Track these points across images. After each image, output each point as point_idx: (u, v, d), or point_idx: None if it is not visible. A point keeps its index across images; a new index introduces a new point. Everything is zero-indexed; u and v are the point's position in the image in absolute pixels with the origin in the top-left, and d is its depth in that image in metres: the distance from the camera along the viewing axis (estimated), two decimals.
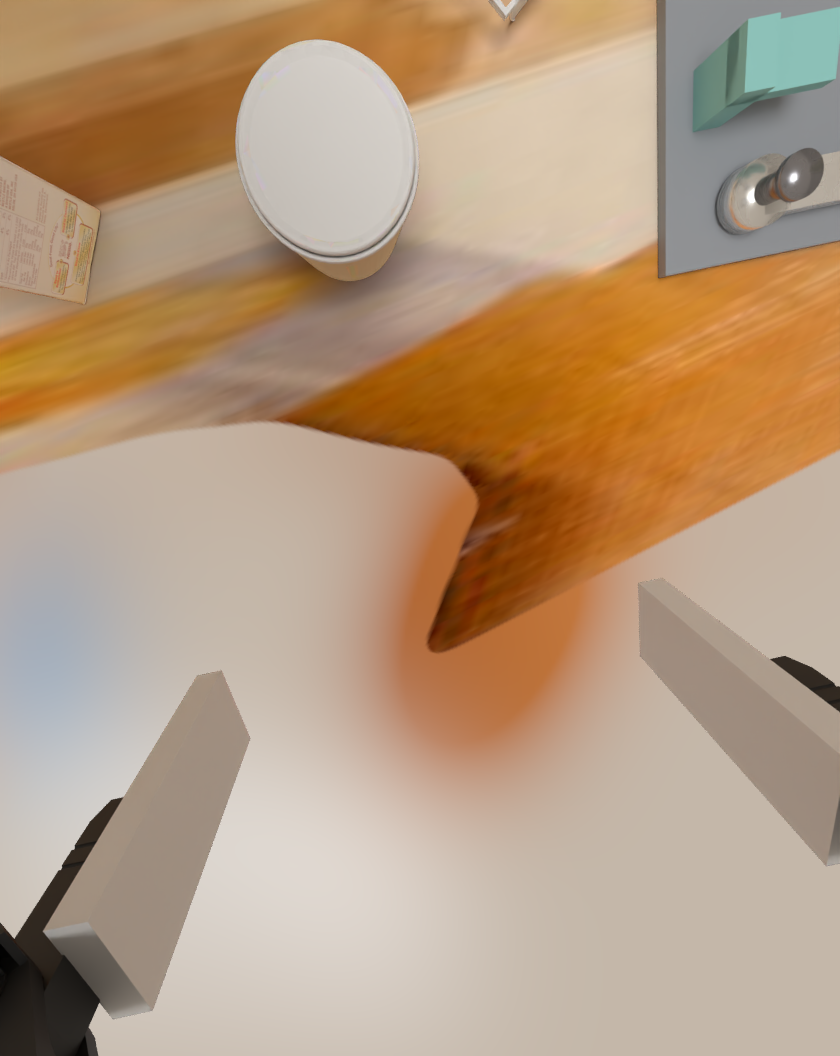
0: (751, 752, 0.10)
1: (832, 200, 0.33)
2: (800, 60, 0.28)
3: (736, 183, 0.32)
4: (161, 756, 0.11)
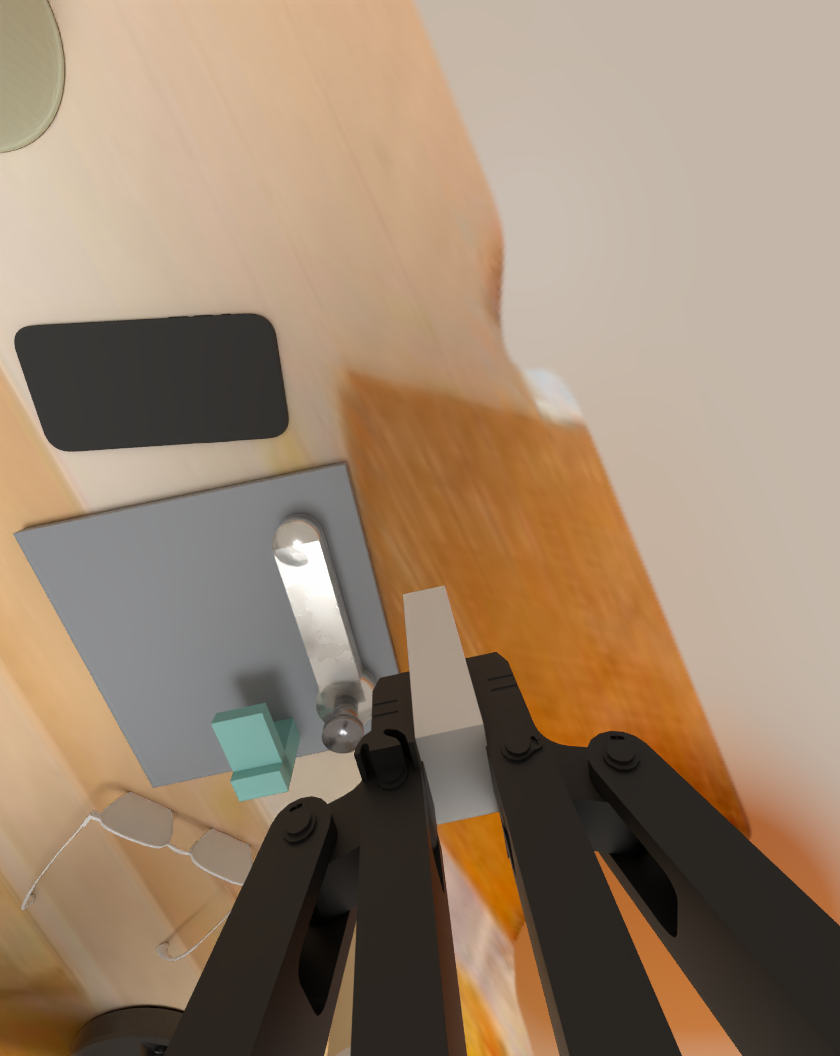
0: None
1: (348, 643, 0.31)
2: (254, 744, 0.31)
3: None
4: (419, 642, 0.13)
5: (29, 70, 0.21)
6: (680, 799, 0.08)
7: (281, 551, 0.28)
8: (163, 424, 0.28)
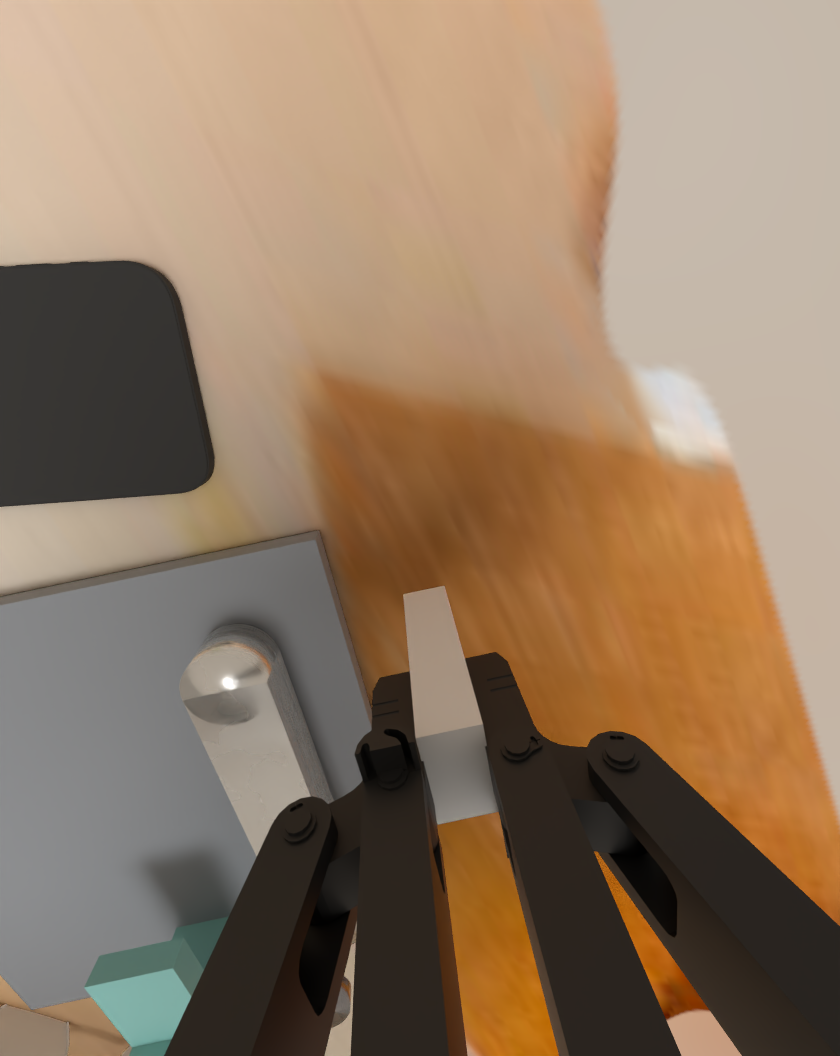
0: None
1: None
2: (164, 1010, 0.18)
3: None
4: (420, 642, 0.13)
5: None
6: (680, 799, 0.08)
7: (199, 701, 0.16)
8: None
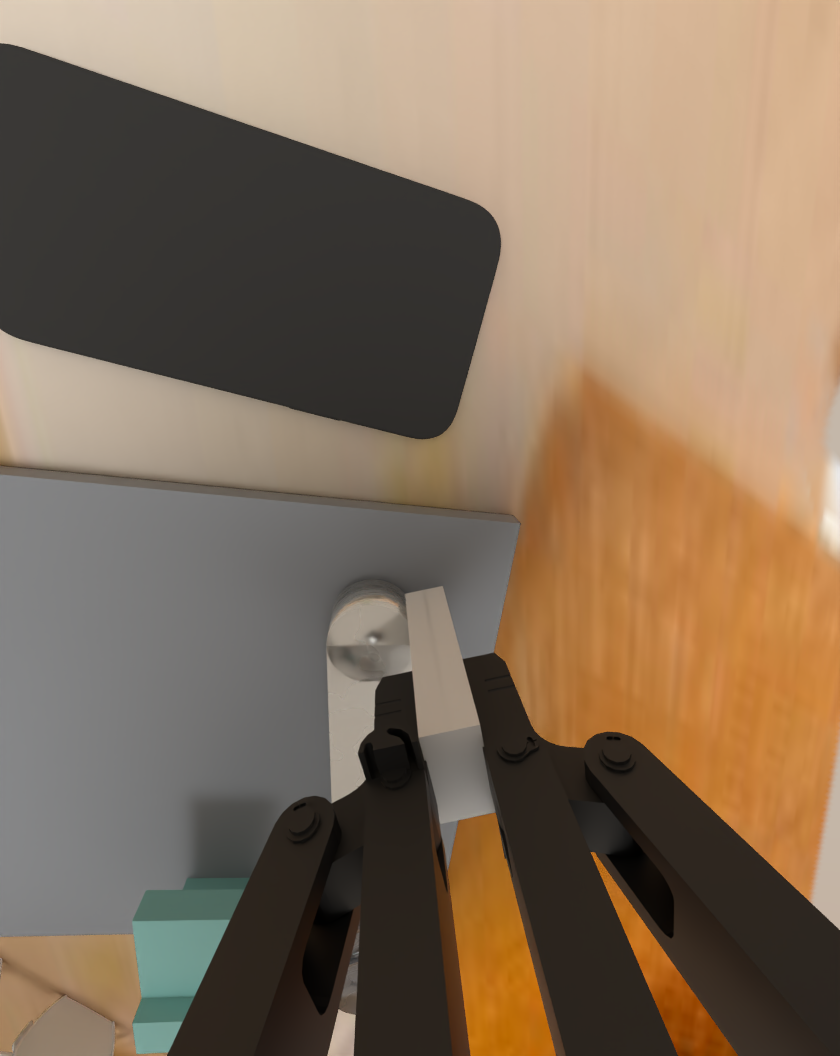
0: None
1: None
2: (200, 963, 0.17)
3: None
4: (422, 642, 0.13)
5: None
6: (676, 798, 0.08)
7: (343, 650, 0.15)
8: (228, 349, 0.14)
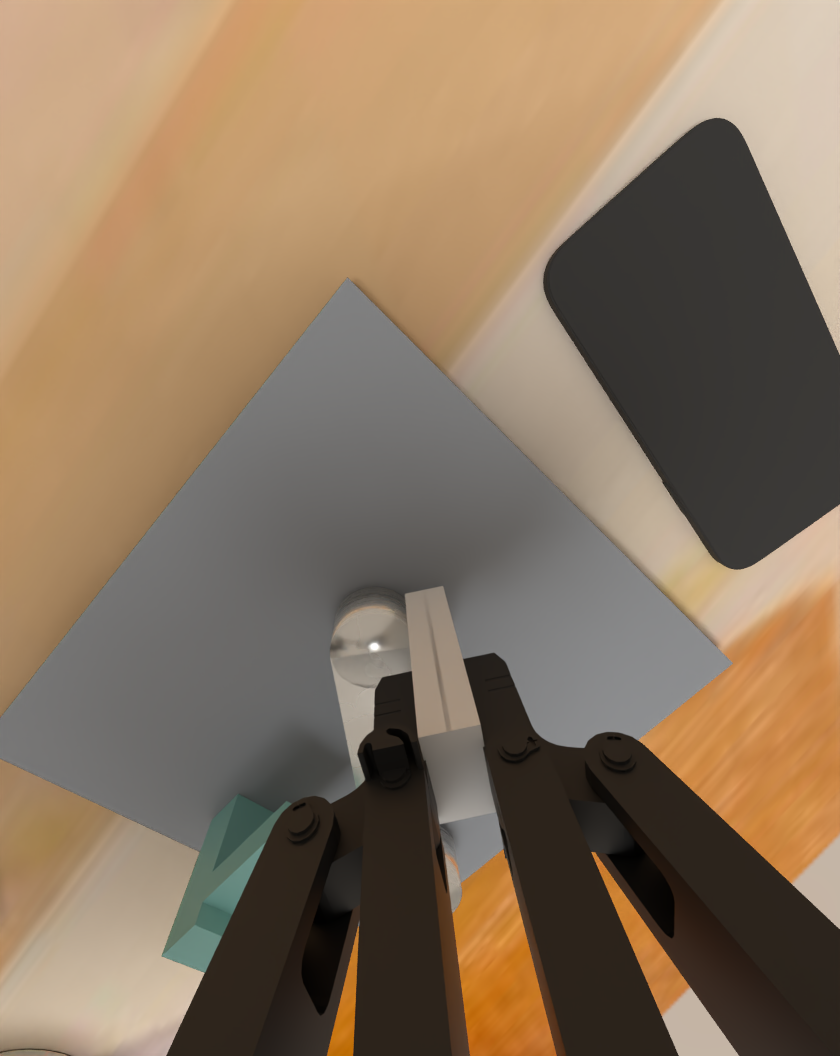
0: None
1: None
2: None
3: None
4: (421, 642, 0.13)
5: None
6: (677, 799, 0.08)
7: (347, 661, 0.15)
8: (673, 419, 0.17)
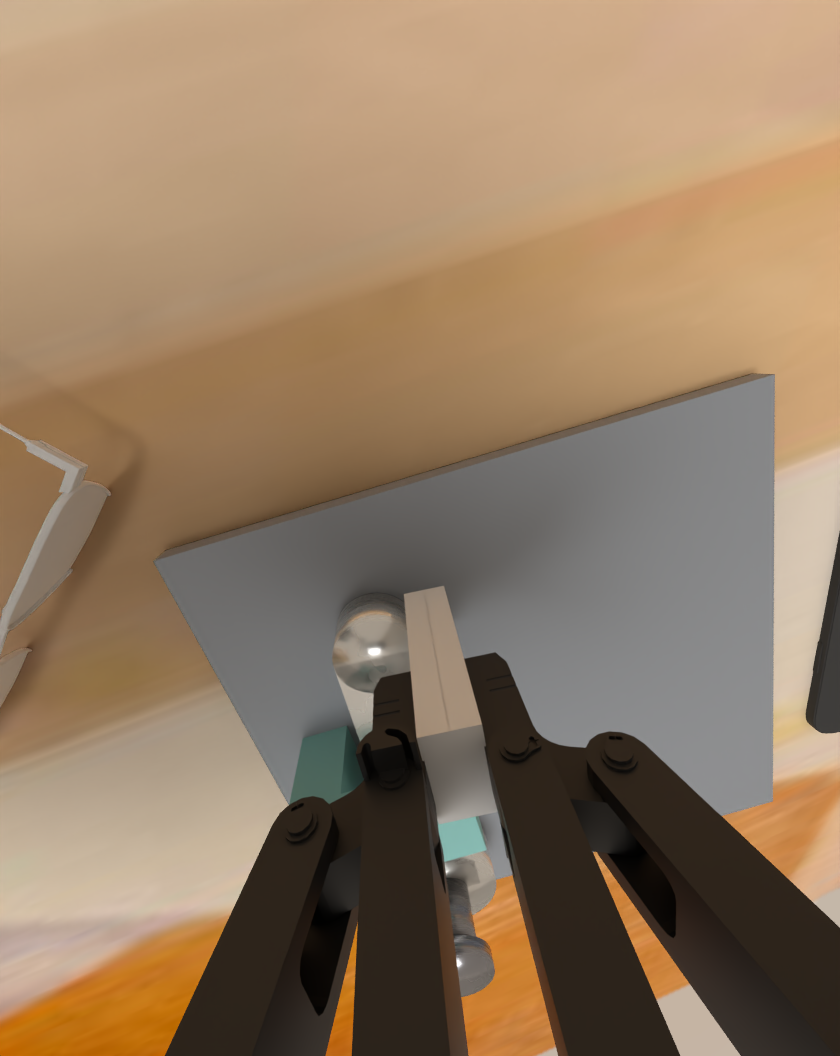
0: None
1: None
2: None
3: None
4: (420, 642, 0.13)
5: None
6: (679, 799, 0.08)
7: (350, 669, 0.16)
8: None
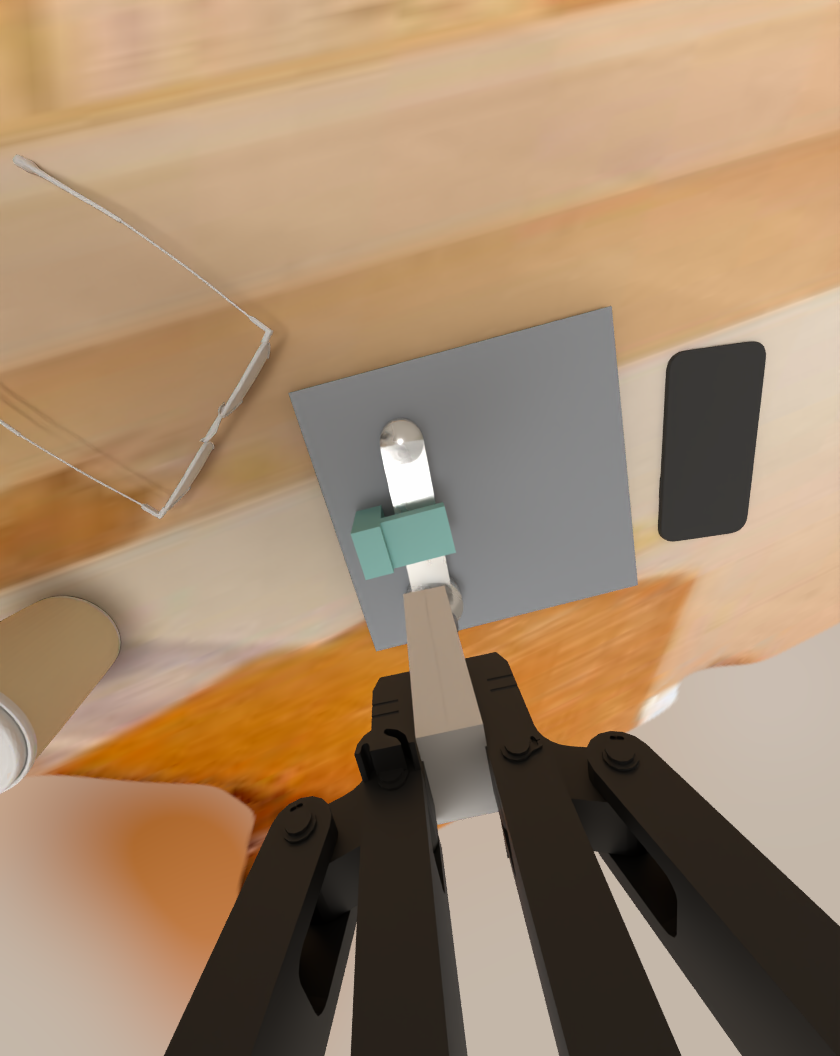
0: None
1: None
2: (417, 544, 0.31)
3: None
4: (420, 642, 0.13)
5: None
6: (679, 799, 0.08)
7: (388, 449, 0.31)
8: (681, 450, 0.35)
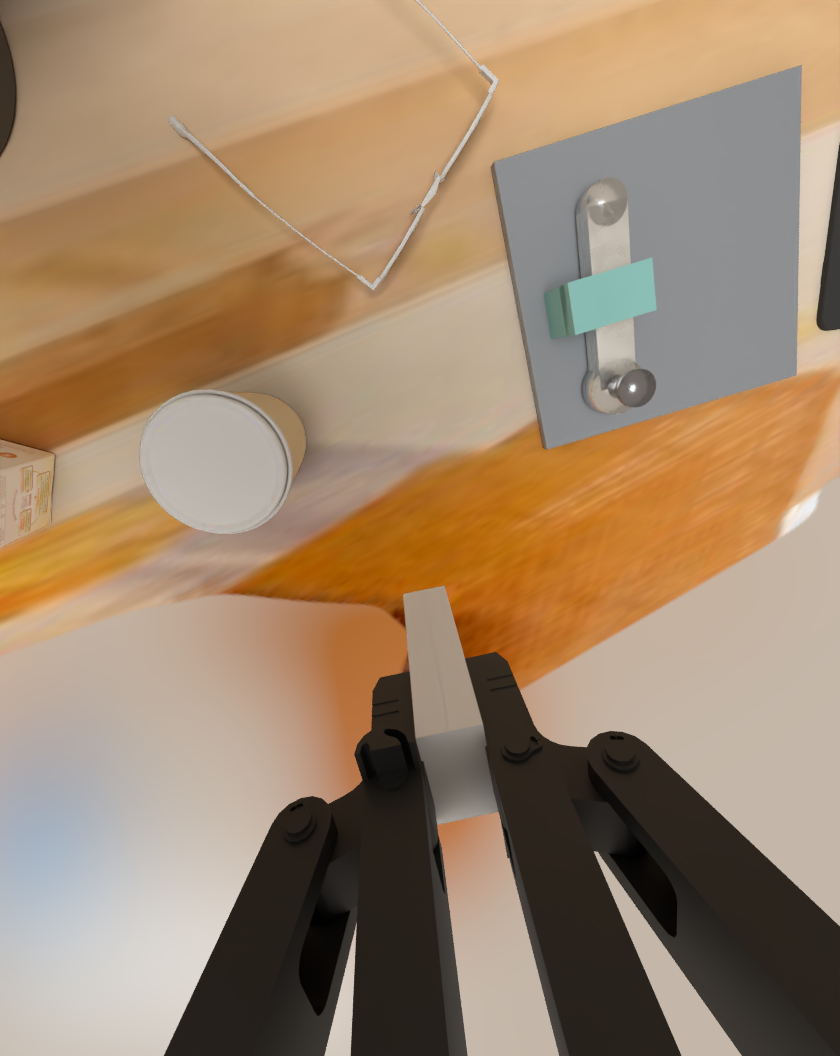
0: None
1: None
2: (622, 300, 0.33)
3: (608, 413, 0.38)
4: (420, 642, 0.13)
5: None
6: (680, 798, 0.08)
7: (594, 208, 0.32)
8: None
